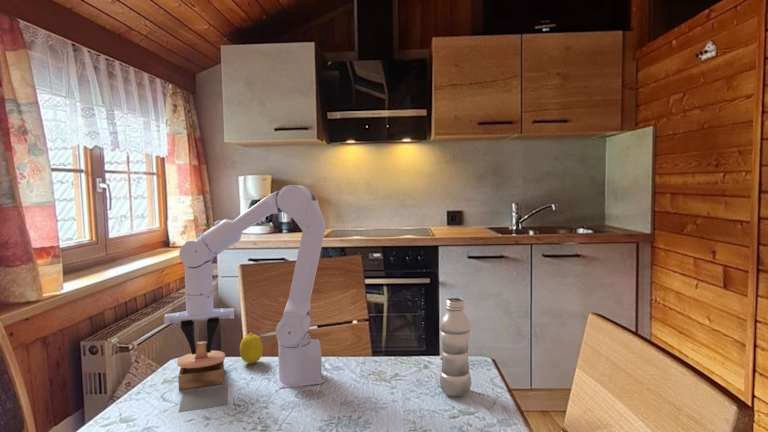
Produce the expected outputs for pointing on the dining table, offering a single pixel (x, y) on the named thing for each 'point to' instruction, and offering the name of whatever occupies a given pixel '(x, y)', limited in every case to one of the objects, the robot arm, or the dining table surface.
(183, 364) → the lid
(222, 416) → the dining table surface
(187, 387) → the wooden open tray
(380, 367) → the dining table surface
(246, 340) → the lemon
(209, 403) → the mat
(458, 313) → the plastic bottle
